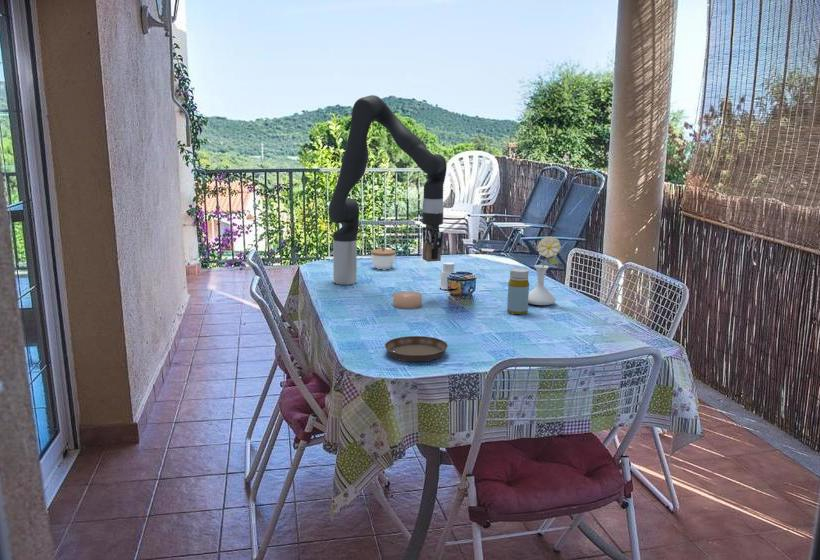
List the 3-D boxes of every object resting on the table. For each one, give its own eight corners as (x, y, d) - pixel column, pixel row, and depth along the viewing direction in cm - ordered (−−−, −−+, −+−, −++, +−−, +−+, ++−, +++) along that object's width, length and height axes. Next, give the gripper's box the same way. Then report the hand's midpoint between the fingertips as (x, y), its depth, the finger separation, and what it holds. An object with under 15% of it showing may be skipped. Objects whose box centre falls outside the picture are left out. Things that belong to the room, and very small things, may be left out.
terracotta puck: (389, 302, 264) (389, 291, 263) (415, 301, 267) (415, 290, 266) (399, 309, 254) (399, 298, 254) (425, 307, 258) (426, 296, 257)
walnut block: (422, 259, 270) (423, 242, 268) (435, 258, 272) (435, 242, 270) (427, 261, 265) (428, 245, 264) (440, 260, 267) (441, 244, 266)
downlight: (455, 291, 283) (456, 265, 281) (437, 290, 284) (438, 264, 282) (458, 287, 290) (459, 262, 289) (440, 286, 292) (441, 261, 290)
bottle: (515, 308, 258) (517, 267, 255) (531, 312, 254) (534, 270, 250) (502, 312, 254) (504, 269, 250) (519, 316, 249) (521, 273, 245)
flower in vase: (517, 303, 266) (520, 235, 260) (534, 298, 274) (538, 231, 269) (548, 310, 257) (552, 239, 252) (565, 304, 265) (570, 236, 260)
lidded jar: (395, 271, 316) (395, 249, 314) (370, 270, 316) (370, 249, 314) (395, 266, 327) (396, 245, 324) (371, 265, 327) (371, 245, 325)
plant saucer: (374, 360, 203) (374, 349, 202) (398, 342, 219) (398, 332, 218) (435, 368, 197) (435, 357, 196) (455, 349, 213) (455, 339, 212)
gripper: (415, 208, 270) (414, 254, 273) (430, 213, 257) (429, 261, 260) (434, 208, 272) (433, 253, 276) (450, 213, 259) (449, 260, 263)
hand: (431, 257), depth 268 cm, fingers closed on walnut block, 5 cm apart
